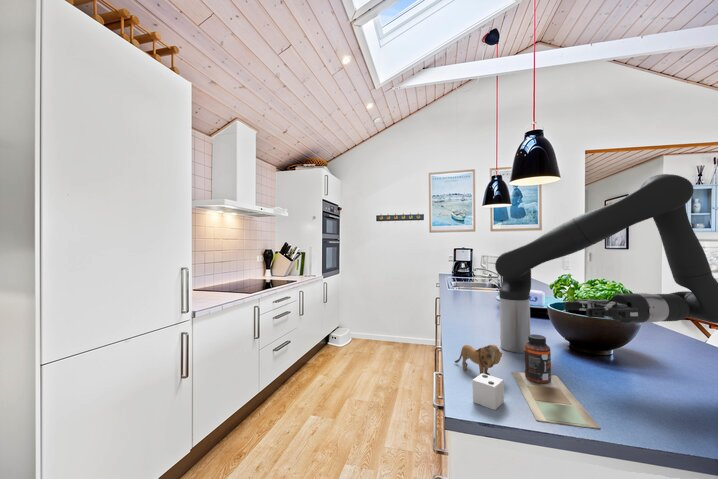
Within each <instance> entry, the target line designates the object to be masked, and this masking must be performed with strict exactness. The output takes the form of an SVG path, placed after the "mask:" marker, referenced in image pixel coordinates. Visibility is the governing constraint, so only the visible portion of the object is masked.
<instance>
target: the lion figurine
mask: <svg viewBox="0 0 718 479" xmlns="http://www.w3.org/2000/svg"><path fill="white" fill-rule="evenodd" d="M502 357H503V353H502V352H501V350H500V348H499V347H498V346H497V345H495V344H489V345H487V346H483V347H480V348H478V349H475V348H473V346H471V345H468V344H465V345H463V346H462V348H461V350H460V356H459V358H458V359H456V360H455V361H454V363H455V364H457V363H459V362H460V361H461V359H462V362H461V365H462V370H463V371H465V372H466V371H467V370H468V368H467V366H468V363H467V360H470V361H471V362H473V363H474V364H476V365H478V369H479V375H480V374H482V373H483V374H486V375H490V376H491V373H489V372H488V369H491V368H493V366H494V365H498V364H499V363H500V361H501V358H502Z"/></svg>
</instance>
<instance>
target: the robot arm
mask: <svg viewBox="0 0 718 479" xmlns="http://www.w3.org/2000/svg"><path fill="white" fill-rule="evenodd" d="M694 190H695V189H694V185H693V184H692V182H691V181H690V180H689V179H688V178H686V177H684V176H682V175H678V174H677V175H676V174H672V173H671V174H669V173H662V174H661V173H660V174H656V175H653V176H651V177H648V178H647V179H646V180H645V181H643V183H641V186H640V187H639V189H637V190H635V191H633V192H632V193H630V194H628V195H626V196H625V197H623V198H621V199H619V200H617V201H615V202H613V203H610V204H607V205H604V206H602V207H599V208H595V209H593V210H590V211H587V212H585V213H582V214H580V215H578V216H576V217H573V218H571V219H569V220H567V221H565V222H564V223H562V224H560V225H558V226H556V227H554V228H552V229H551V230H549V231H547V232H546V233H544V234H542V235H541V236H539V237H538V238H535V239H534V240H533V241H531V242H528V243H526V244H524V245H522V246H519V247H517V248H515V249H512V250H509V251H507V252H503V253H501V254H500V255H499V256H498V258H497V259H496V261H495V265H494V266H495V267H494V268H495V271H496V273H497V274H498V275H499V276H501V277H502V282H501V286H500V288H499V292H498V293H499V294H498V295H499V322H500V323H499V329H500V331H499V332H500V334H499V336H500V337H499V338H500V348H501V349H503V350H504V351H507V352H511V353H519V354H524V346H525V344H526V343H527V342H529V340H528V335H531V334H532V333H531V332H532V331H531V306H530V304H531V303H530V302H531V301H530V300H531V299H530V295H531V290H532V289H531V288H532V270H533V268H536V267H538V266H539V265H542V264H544V263H546V262H550V261H553V260H556V259H560V258H562V257H566V256H569V255H572V254H574V253H577V252H579V251H582V250H585V249H587V248H589V247H591V246H593V245H596V244H598V243H600V242H602V241H603V240H606V239H608V238H610V237H612V236H614V235H616V234H618V233H619V232H621V231H623V230H625V229H627V228H629V227H632V226H633V225H636V224H638V223H641V222H644V221H646V220H649V219H653V222H654V223H655V226H656V228H657V230H658V233H659V237H660V239H661V242H662V246H663V249H664V250H663V251H664V252H665V257H666V260H667V263H668V266H669V270H670V272H671V276H672V278H673V280H674V282H675V283H676V284H677V285H678V286H680V287H682V288H685V289H686V290H687V291H684V290H683V291H675V292H670V293H646V292H644V293H643V292H641V293H640V292H639V293H638V292H637V293H634V292H633V293H616V294H614V295H613V296H611V298H610V299H600V300H599V299H596V298H592V299H589V298H586V299H583V298H582V299H581V298H580V299H578V298H575V299H574V301H564V302H563V310H565V311H584V312H585V311H586V312H585V314H586V317H588V318H604V319H612V320H614V321H618V322H620V323H622V324H641V323H642V324H647V323H648V324H649V323H650V324H651V323H652V324H653V323H658V322H660V323H661V322H678V321H683V320H684V319H686V318H691V319H693V320H699V321H703V322H707V323H712V324H718V280H716V278H715V277H714V275H713V273H712V269H711V266H710V263H709V260H708V258H707V255H706V252H705V251H704V249H703V247H702V244H701V243H700V240H699V239H698V237H697V235H696V233H695V231H694V228H693V227H692V224H691V221H690V219H689V217H688V216H689V215H688V212H687V206H686V204H688V203H689V201H690V200H691V198H692V197H693V194H694Z"/></svg>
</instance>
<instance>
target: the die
mask: <svg viewBox="0 0 718 479" xmlns="http://www.w3.org/2000/svg"><path fill="white" fill-rule="evenodd" d="M483 373H484V372H483ZM483 373H482V374H480V373H479V375H477V376H475V377H474V378H472V402H473V403H475V404H478V405H480V406H483V407H485V408H488V409H491V410H493V411H497V409H498V408H499V407H501V405H502V404H504V403H505V392H504V391H505V390H504V387H505V386H504V385H505V384H504V379H503V378H499V377H496V376H493V375H491V374H490V375H486V374H483Z"/></svg>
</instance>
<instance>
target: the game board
mask: <svg viewBox="0 0 718 479" xmlns="http://www.w3.org/2000/svg"><path fill="white" fill-rule="evenodd" d="M511 374H512V376H513V378H514V379H515V381H516V383H517V385H518V387H519V390H520V391H521V393H522V395H523V397H524V399H525V401H526V403H527V405H528V407H529V409H530V411H531V413H532V415H533V417H534V419H535V420H536V422H542V423H550V424H559V425H566V426H571V427H572V426H574V427H580V428H589V429H596V430H597V429H598V430H601V427H600V426H599V424H597V422H596V421H595V420H594V418H592V416H591V415H590V414H589V413H588V412H587V410H586V409H585V408H584V407H583V405H581V403H580V402H579V401H578V399H577V398H576V397H575V396H574V395H573V394H572V392H570V389H568V388H567V386H566V384H564V383H563V382H562V380H561V379H560V378H559V377H558V376H557V375H552V374H551V382H550V383H547V384H541V383H535V382H532V381H530V380H528V379H527V378H526V377H525V372H520V371H511Z"/></svg>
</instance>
